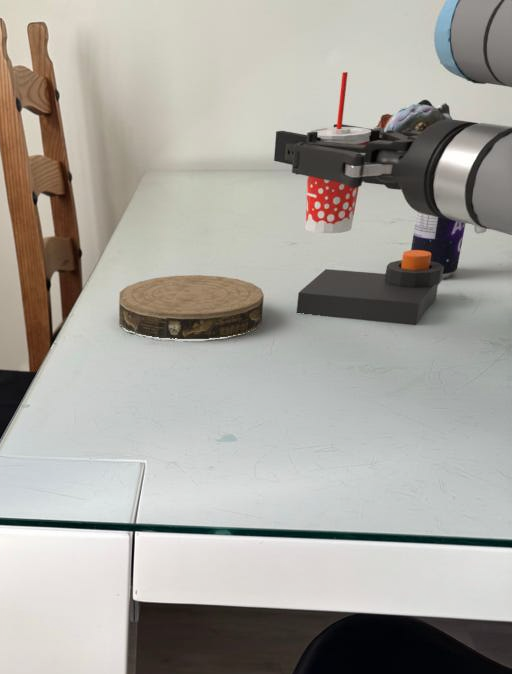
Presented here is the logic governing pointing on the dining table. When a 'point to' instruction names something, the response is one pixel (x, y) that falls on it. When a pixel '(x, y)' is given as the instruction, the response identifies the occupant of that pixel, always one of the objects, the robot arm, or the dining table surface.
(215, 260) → the dining table surface
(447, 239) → the beverage can
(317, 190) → the beverage cup
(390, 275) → the scale
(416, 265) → the button
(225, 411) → the dining table surface
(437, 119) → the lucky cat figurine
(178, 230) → the dining table surface
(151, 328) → the wood slice
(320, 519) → the dining table surface
